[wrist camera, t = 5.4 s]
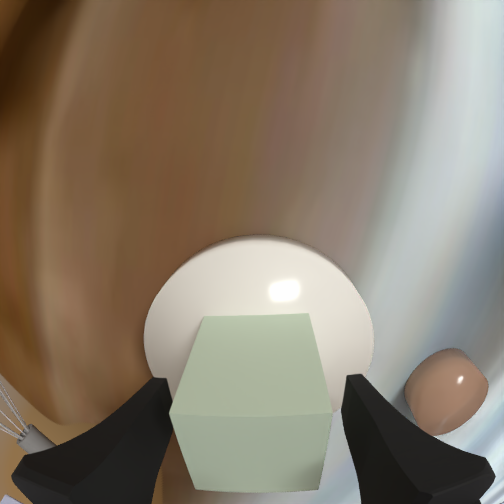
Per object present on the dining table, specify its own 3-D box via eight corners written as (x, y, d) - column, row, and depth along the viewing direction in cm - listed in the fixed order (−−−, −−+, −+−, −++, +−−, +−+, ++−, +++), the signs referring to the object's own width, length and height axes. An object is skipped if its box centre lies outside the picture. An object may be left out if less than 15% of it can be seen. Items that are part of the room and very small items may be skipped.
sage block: (308, 312, 13) (332, 412, 8) (305, 390, 15) (318, 489, 9) (204, 315, 14) (169, 413, 8) (215, 392, 15) (195, 489, 9)
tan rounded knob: (477, 345, 16) (500, 370, 13) (450, 402, 18) (467, 429, 15) (418, 348, 16) (438, 378, 13) (393, 409, 18) (406, 440, 15)
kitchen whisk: (140, 515, 25) (127, 555, 19) (-72, 282, 17) (-113, 307, 11) (177, 512, 23) (166, 559, 17) (-60, 249, 16) (-111, 273, 10)
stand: (382, 245, 14) (398, 258, 12) (338, 413, 18) (343, 436, 16) (152, 225, 15) (137, 235, 13) (163, 400, 18) (155, 421, 16)
